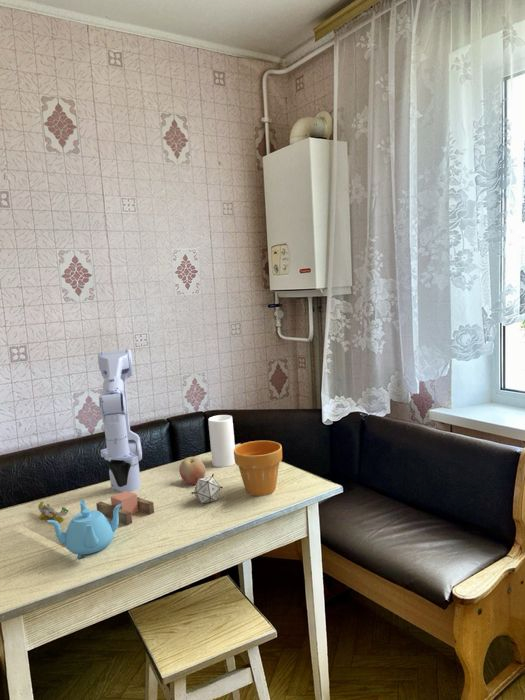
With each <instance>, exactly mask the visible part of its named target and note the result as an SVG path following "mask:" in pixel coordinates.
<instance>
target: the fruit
mask: <svg viewBox="0 0 525 700" xmlns="http://www.w3.org/2000/svg"><path fill="white" fill-rule="evenodd" d="M205 475H206V466H205V464H204V463H203V461H202V460H201V459H200V458H198V457H195V456H189V457H185V458H184V459H183V460H182V461H181V463H180V465H179V476H180V478H181V479H182V480H183V481H184V482H185V483H186V484H188V485H196V482H197V479H196V477H197V478H198V479H200V478H205Z"/></svg>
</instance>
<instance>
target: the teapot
mask: <svg viewBox="0 0 525 700" xmlns="http://www.w3.org/2000/svg"><path fill="white" fill-rule="evenodd" d="M122 504H123V503H121V504H119V505H117V506H116V507H115V508H114V510H113V519H111V521H110V520H109V518H108V517H105V516H104V515H103V514H102V513H101V512H99V511H97V509H96V510H95V509H94V510H92V509H90V508H87V505H86V501H85V500H84V499H80V500H79V505H80V512H78V513H77V514H75V515H74V516H73V517H72V518H71V519H70V522H69V523H68V525H67V528H66V531H65V532H63V531H62V529H61V525H60V523H58V522H57V521H55V520H52V519H48V520H47V522H48V523H50V524H52V526H53V529H54V532H55V538H57V541H58V542H59V543H60V544H62V545H64V547H65V548H66V550H67V551H69V552H70V553H71V554H74V555H77V556H76V559H77V560H83V559H85V558H86V555H90V554H93V553H98V552H100V551H102V550H104V549H105V548H107V547H108V546H109V545H110V544H111V542H112V541H113V539H114V535H115V532H116V530H118V527H119V523H120V522H119V516H118V511H119V508H120V507H121V505H122ZM84 555H85V556H84Z"/></svg>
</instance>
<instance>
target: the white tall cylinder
mask: <svg viewBox="0 0 525 700" xmlns="http://www.w3.org/2000/svg"><path fill="white" fill-rule="evenodd" d="M207 420H208V431H209V433H208V434H209V441H210V443H209V444H210V451H211V452H210V453H211V460H212V461H211V462H212V466H214V467H217V468H227V467H230V466H233V465H236V463H235V460H234V449H235V447H236V445H235V444H236V443H235V434H234V433H235V431H234V423H233V416H232V415H229V414H218V415H213V416H211V417H209V418H208V419H207Z"/></svg>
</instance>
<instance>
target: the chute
mask: <svg viewBox="0 0 525 700" xmlns="http://www.w3.org/2000/svg"><path fill="white" fill-rule="evenodd" d="M137 502H138V510H139V512H142V513H144V514H147V515H152V514H155V507H154V505H155V504H154V502H153V501H150V500H147V499H144V498H140V497H138V496H137ZM114 508H115V506H112V505H111V504H109V503H107V502H104V501H99V502H96V511H99V512H101V513H102V514H103V515H104V516H105V517H106V518H107V519H111V520H112V519H113V510H114ZM118 516H119V523H121V524H123V525H126V526H129V525H131V524H133V518H132V515H131V512H128V511H126V510H123V509H120V508H119V511H118Z"/></svg>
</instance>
